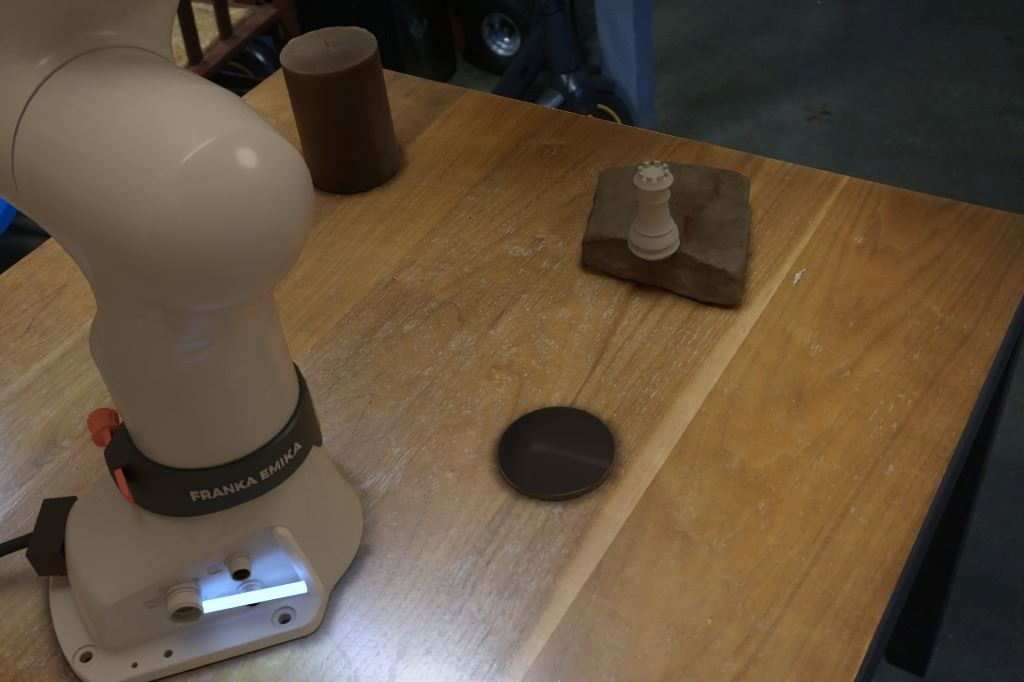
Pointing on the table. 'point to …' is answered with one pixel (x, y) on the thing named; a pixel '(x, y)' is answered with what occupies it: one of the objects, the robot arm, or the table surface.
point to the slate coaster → (556, 453)
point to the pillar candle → (341, 108)
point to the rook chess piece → (653, 214)
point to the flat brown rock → (700, 221)
